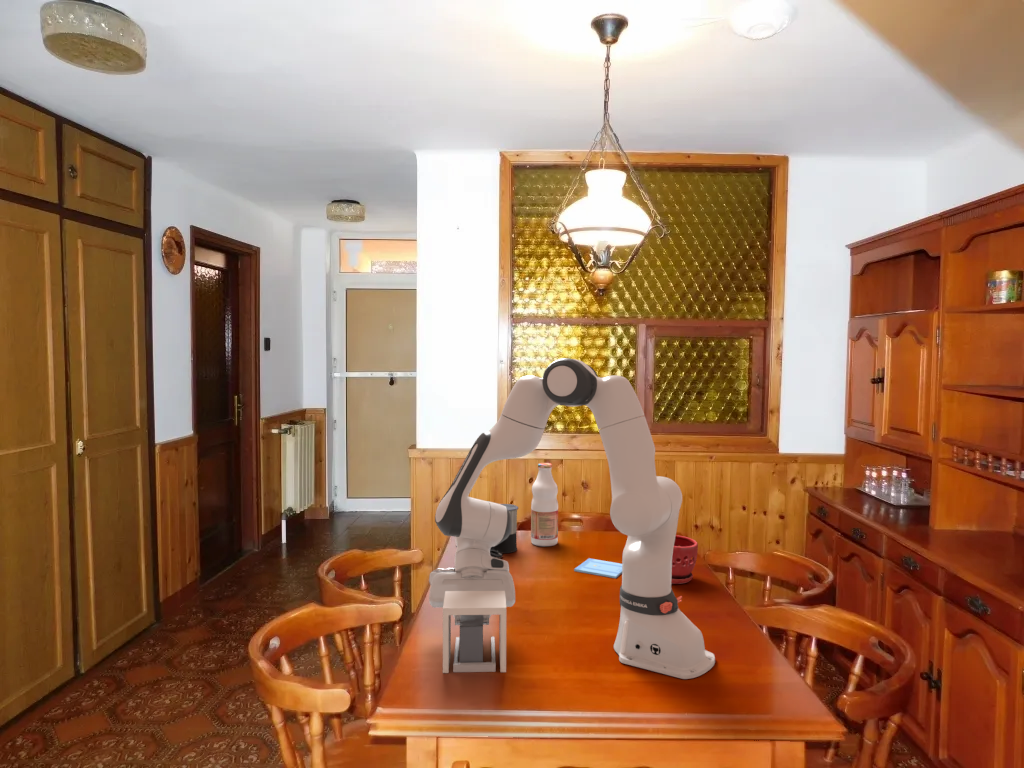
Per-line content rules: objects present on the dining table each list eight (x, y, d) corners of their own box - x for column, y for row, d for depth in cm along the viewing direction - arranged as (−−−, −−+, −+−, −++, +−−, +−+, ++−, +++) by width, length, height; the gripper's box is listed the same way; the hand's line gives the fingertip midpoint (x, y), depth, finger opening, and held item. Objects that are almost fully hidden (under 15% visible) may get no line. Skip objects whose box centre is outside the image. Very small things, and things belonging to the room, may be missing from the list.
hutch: (446, 640, 161) (446, 582, 160) (503, 639, 161) (504, 581, 161) (442, 673, 145) (442, 608, 144) (506, 672, 146) (506, 607, 145)
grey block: (461, 637, 160) (461, 604, 159) (482, 637, 160) (483, 604, 160) (459, 663, 147) (459, 627, 146) (482, 663, 147) (483, 627, 147)
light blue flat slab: (628, 568, 215) (629, 564, 215) (615, 580, 204) (615, 576, 204) (588, 561, 221) (588, 558, 221) (574, 572, 211) (574, 568, 211)
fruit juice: (525, 542, 241) (525, 463, 239) (543, 537, 247) (544, 460, 246) (545, 548, 234) (545, 467, 232) (563, 543, 240) (564, 464, 239)
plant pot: (666, 589, 196) (667, 547, 195) (643, 574, 208) (644, 535, 207) (705, 584, 200) (706, 543, 199) (680, 570, 212) (681, 532, 212)
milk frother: (514, 544, 238) (514, 502, 237) (526, 558, 223) (526, 513, 222) (473, 547, 235) (473, 504, 234) (483, 561, 220) (483, 516, 219)
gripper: (429, 562, 163) (425, 618, 154) (514, 561, 164) (516, 617, 155) (430, 574, 168) (427, 630, 159) (513, 573, 169) (515, 629, 160)
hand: (472, 624), depth 157 cm, fingers closed on grey block, 5 cm apart
